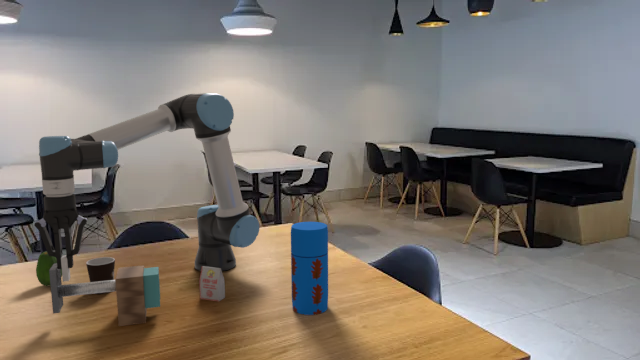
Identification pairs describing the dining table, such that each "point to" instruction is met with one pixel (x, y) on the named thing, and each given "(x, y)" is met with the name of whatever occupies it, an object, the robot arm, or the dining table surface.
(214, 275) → the white paper food packet
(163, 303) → the dining table surface
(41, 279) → the avocado
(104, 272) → the coffee mug
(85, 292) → the shaft
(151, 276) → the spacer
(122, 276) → the bearing block
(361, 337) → the dining table surface
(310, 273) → the thermos
